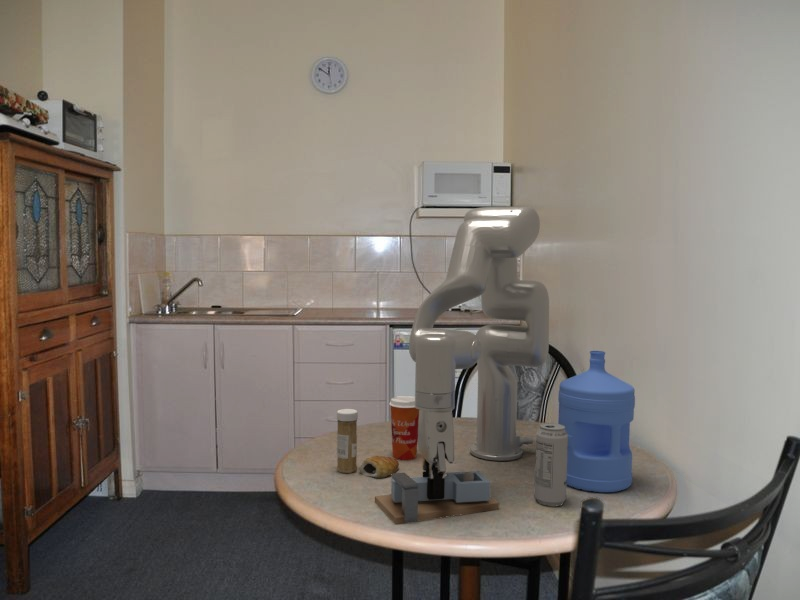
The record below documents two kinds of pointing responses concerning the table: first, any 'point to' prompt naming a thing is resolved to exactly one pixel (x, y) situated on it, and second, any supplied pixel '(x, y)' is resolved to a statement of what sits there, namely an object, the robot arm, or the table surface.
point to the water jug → (597, 428)
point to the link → (451, 488)
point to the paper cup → (404, 427)
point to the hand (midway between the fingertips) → (433, 494)
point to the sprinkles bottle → (347, 440)
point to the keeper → (408, 496)
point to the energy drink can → (551, 464)
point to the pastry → (379, 466)
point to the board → (435, 506)
